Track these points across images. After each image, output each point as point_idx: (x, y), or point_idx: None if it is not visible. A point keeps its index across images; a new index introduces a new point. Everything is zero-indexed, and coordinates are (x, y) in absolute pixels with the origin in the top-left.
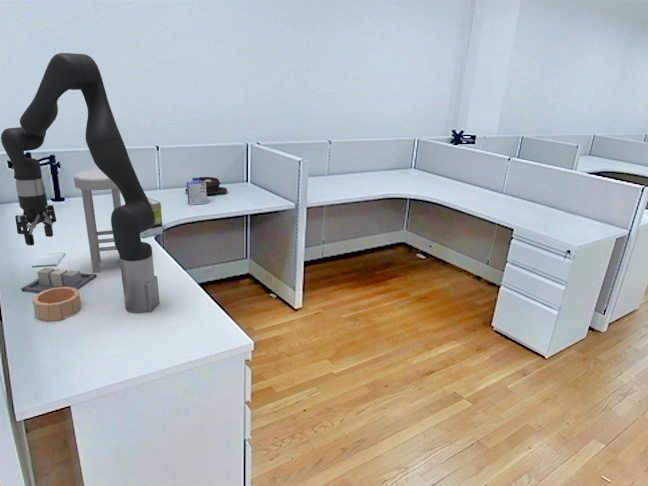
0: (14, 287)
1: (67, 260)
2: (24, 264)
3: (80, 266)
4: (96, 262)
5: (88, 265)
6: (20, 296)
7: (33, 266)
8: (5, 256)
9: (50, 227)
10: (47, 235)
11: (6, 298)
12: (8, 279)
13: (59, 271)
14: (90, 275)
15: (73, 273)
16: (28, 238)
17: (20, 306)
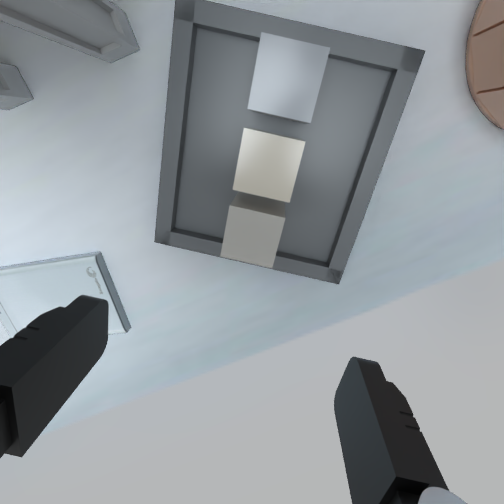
0: (291, 316)
1: (31, 240)
2: (105, 360)
3: (71, 158)
4: (87, 3)
5: (51, 125)
6: (371, 266)
7: (125, 327)
8: (63, 426)
9: (17, 372)
10: (100, 339)
11: (382, 303)
12: (227, 357)
13: (266, 163)
14: (192, 28)
15: (296, 61)
16: (428, 456)
17: (466, 229)
